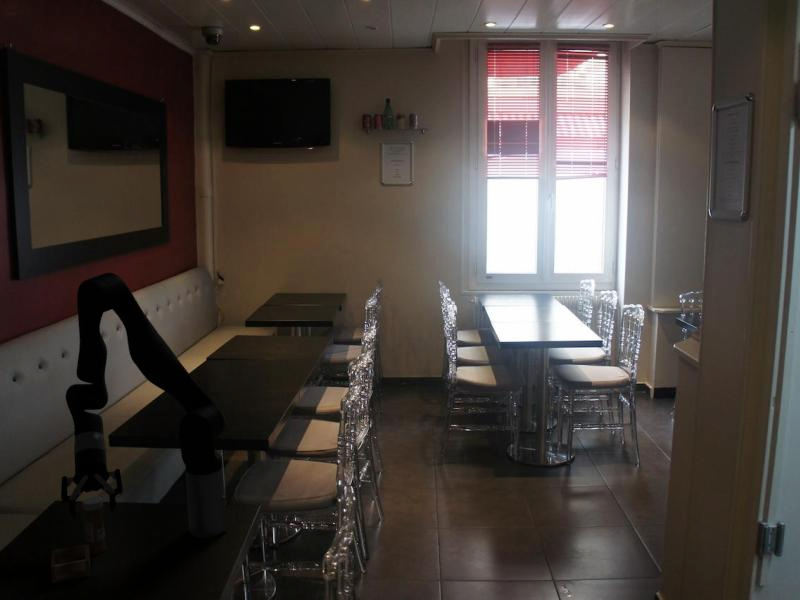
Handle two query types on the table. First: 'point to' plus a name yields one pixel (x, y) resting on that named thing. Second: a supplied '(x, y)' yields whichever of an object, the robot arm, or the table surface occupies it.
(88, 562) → the oak socket block
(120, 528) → the table surface
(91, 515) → the sprinkles bottle
